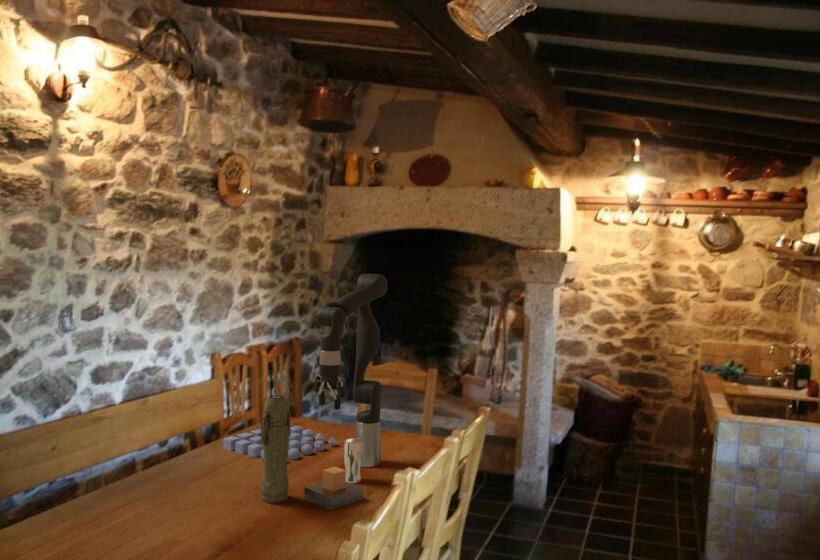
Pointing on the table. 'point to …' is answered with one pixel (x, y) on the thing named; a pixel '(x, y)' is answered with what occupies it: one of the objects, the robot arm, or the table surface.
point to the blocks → (296, 440)
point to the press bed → (333, 495)
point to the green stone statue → (275, 449)
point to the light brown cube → (334, 478)
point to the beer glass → (352, 459)
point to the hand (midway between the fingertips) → (329, 407)
